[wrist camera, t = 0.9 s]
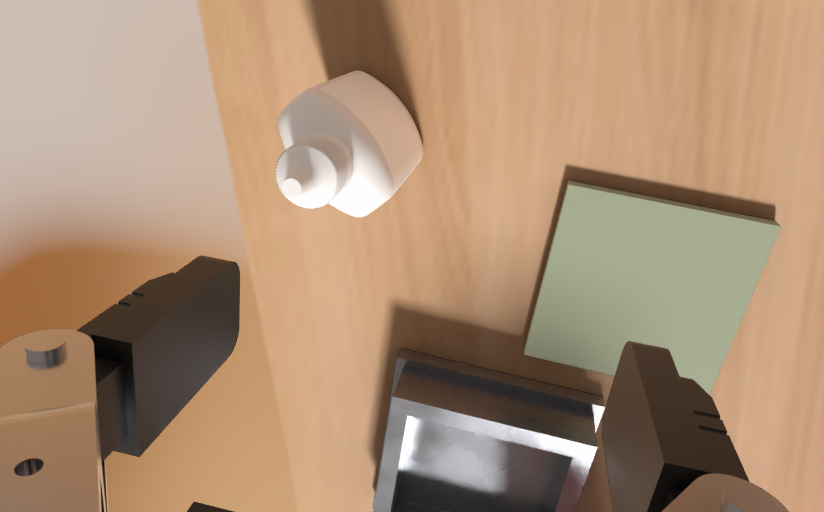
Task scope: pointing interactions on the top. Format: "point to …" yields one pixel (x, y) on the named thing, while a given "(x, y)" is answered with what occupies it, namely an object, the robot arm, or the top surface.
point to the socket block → (482, 441)
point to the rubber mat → (646, 281)
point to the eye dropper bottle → (346, 145)
